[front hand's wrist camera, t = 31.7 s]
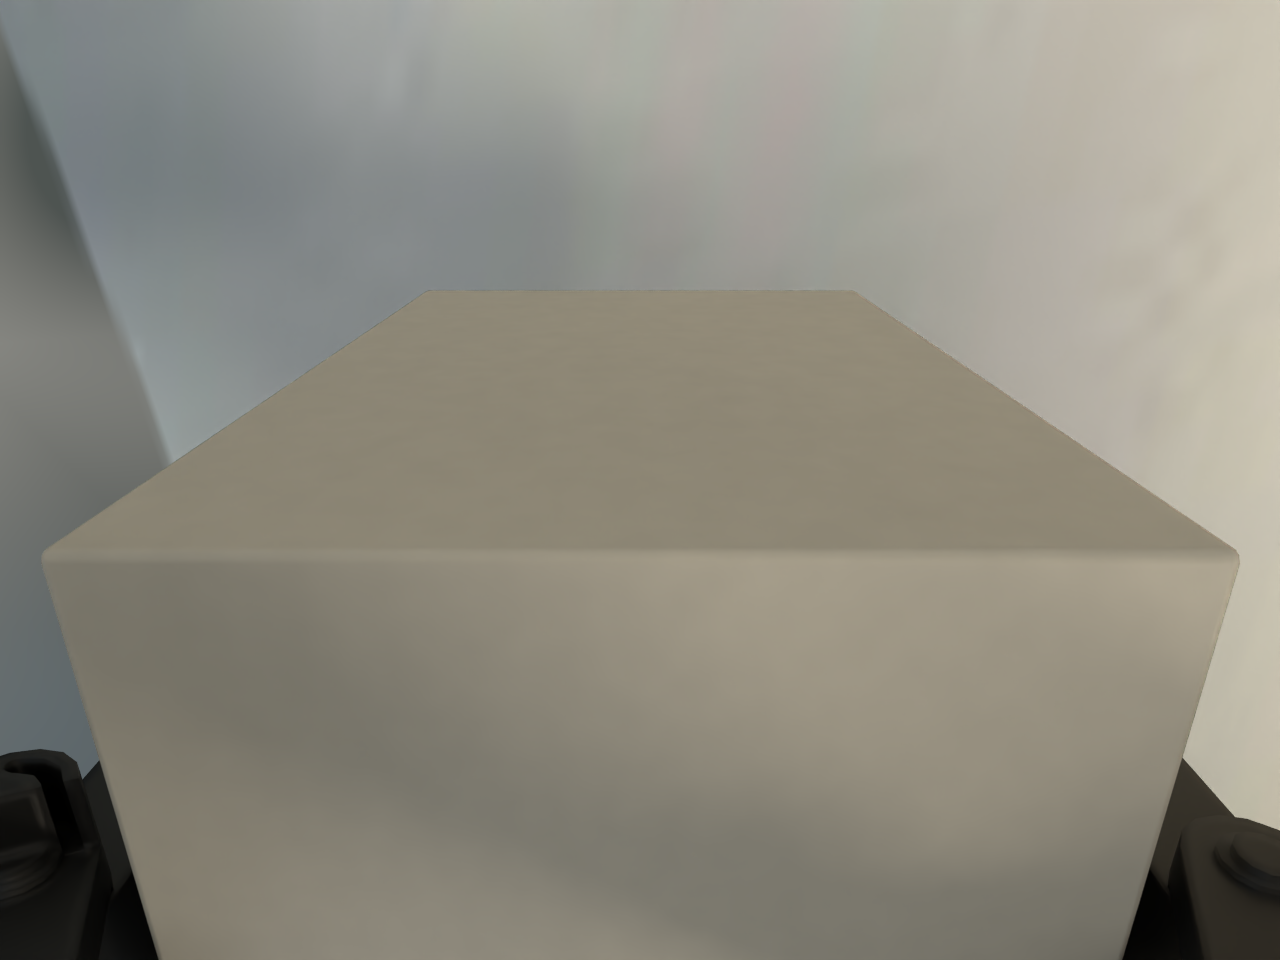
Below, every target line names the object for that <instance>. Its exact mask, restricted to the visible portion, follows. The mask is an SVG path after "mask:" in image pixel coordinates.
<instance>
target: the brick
mask: <svg viewBox="0 0 1280 960" xmlns="http://www.w3.org/2000/svg"><path fill="white" fill-rule="evenodd" d="M41 564H42V567H43V571H44V574H45V577H46V581H47V584H48V588H49V591H50V594H51V598H52V601H53V605H54V608H55V611H56V614H57V618H58V621H59V625H60V628H61V632H62V635H63V638H64V642H65V645H66V648H67V652H68V655H69V658H70V662H71V665H72V669H73V672H74V675H75V679H76V682H77V686H78V689H79V692H80V696H81V699H82V703H83V706H84V709H85V713H86V716H87V719H88V723H89V726H90V730H91V733H92V736H93V740H94V743H95V746H96V750H97V753H98V757H99V760H100V763H101V767H102V770H103V774H104V777H105V780H106V784H107V787H108V790H109V794H110V797H111V801H112V804H113V807H114V811H115V814H116V817H117V821H118V824H119V828H120V831H121V834H122V838H123V841H124V844H125V848H126V851H127V855H128V858H129V861H130V865H131V868H132V872H133V875H134V878H135V882H136V885H137V888H138V892H139V895H140V899H141V902H142V905H143V909H144V912H145V915H146V919H147V922H148V926H149V929H150V932H151V936H152V939H153V942H154V946H155V949H156V953H157V956H158V959H159V960H1122V959H1123V955H1124V952H1125V949H1126V945H1127V942H1128V939H1129V935H1130V932H1131V928H1132V925H1133V922H1134V918H1135V915H1136V912H1137V908H1138V905H1139V902H1140V898H1141V895H1142V891H1143V888H1144V885H1145V881H1146V878H1147V875H1148V871H1149V868H1150V864H1151V861H1152V858H1153V854H1154V851H1155V848H1156V844H1157V841H1158V838H1159V834H1160V831H1161V827H1162V824H1163V821H1164V817H1165V814H1166V811H1167V807H1168V804H1169V800H1170V797H1171V794H1172V790H1173V787H1174V784H1175V780H1176V777H1177V773H1178V770H1179V767H1180V763H1181V760H1182V757H1183V753H1184V750H1185V747H1186V743H1187V740H1188V736H1189V733H1190V730H1191V726H1192V723H1193V720H1194V716H1195V713H1196V709H1197V706H1198V703H1199V699H1200V696H1201V693H1202V689H1203V686H1204V682H1205V679H1206V676H1207V672H1208V669H1209V666H1210V662H1211V659H1212V656H1213V652H1214V649H1215V645H1216V642H1217V639H1218V635H1219V632H1220V629H1221V625H1222V622H1223V618H1224V615H1225V612H1226V608H1227V605H1228V602H1229V598H1230V595H1231V591H1232V588H1233V585H1234V581H1235V578H1236V575H1237V571H1238V568H1239V565H1240V560H1239V555H1238V553H1237V551H1236V550H1235V549H1234V548H1232V547H1231V546H1229V545H1228V544H1226V543H1225V542H1223V541H1222V540H1220V539H1219V538H1217V537H1216V536H1214V535H1213V534H1212V533H1210V532H1209V531H1207V530H1206V529H1204V528H1203V527H1201V526H1200V525H1198V524H1197V523H1195V522H1194V521H1192V520H1191V519H1189V518H1188V517H1186V516H1185V515H1184V514H1182V513H1181V512H1179V511H1178V510H1176V509H1175V508H1173V507H1172V506H1170V505H1169V504H1167V503H1166V502H1164V501H1163V500H1161V499H1160V498H1158V497H1157V496H1156V495H1154V494H1153V493H1151V492H1150V491H1148V490H1147V489H1145V488H1144V487H1142V486H1141V485H1139V484H1138V483H1136V482H1135V481H1133V480H1132V479H1130V478H1129V477H1128V476H1126V475H1125V474H1123V473H1122V472H1120V471H1119V470H1117V469H1116V468H1114V467H1113V466H1111V465H1110V464H1108V463H1107V462H1105V461H1104V460H1102V459H1101V458H1100V457H1098V456H1097V455H1095V454H1094V453H1092V452H1091V451H1089V450H1088V449H1086V448H1085V447H1083V446H1082V445H1080V444H1079V443H1077V442H1076V441H1074V440H1073V439H1072V438H1070V437H1069V436H1067V435H1066V434H1064V433H1063V432H1061V431H1060V430H1058V429H1057V428H1055V427H1054V426H1052V425H1051V424H1049V423H1048V422H1046V421H1045V420H1044V419H1042V418H1041V417H1039V416H1038V415H1036V414H1035V413H1033V412H1032V411H1030V410H1029V409H1027V408H1026V407H1024V406H1023V405H1021V404H1020V403H1018V402H1017V401H1016V400H1014V399H1013V398H1011V397H1010V396H1008V395H1007V394H1005V393H1004V392H1002V391H1001V390H999V389H998V388H996V387H995V386H993V385H992V384H990V383H989V382H988V381H986V380H985V379H983V378H982V377H980V376H979V375H977V374H976V373H974V372H973V371H971V370H970V369H968V368H967V367H965V366H964V365H962V364H961V363H960V362H958V361H957V360H955V359H954V358H952V357H951V356H949V355H948V354H946V353H945V352H943V351H942V350H940V349H939V348H937V347H936V346H934V345H933V344H931V343H930V342H929V341H927V340H926V339H924V338H923V337H921V336H920V335H918V334H917V333H915V332H914V331H912V330H911V329H909V328H908V327H906V326H905V325H903V324H902V323H901V322H899V321H898V320H896V319H895V318H893V317H892V316H890V315H889V314H887V313H886V312H884V311H883V310H881V309H880V308H878V307H877V306H875V305H874V304H873V303H871V302H870V301H868V300H867V299H865V298H864V297H862V296H861V295H859V294H858V293H856V292H854V291H427V292H425V293H423V294H422V295H420V296H419V297H417V298H416V299H414V300H413V301H411V302H410V303H408V304H407V305H406V306H404V307H403V308H401V309H400V310H398V311H397V312H395V313H394V314H392V315H391V316H389V317H388V318H386V319H385V320H383V321H382V322H380V323H379V324H377V325H376V326H374V327H373V328H372V329H370V330H369V331H367V332H366V333H364V334H363V335H361V336H360V337H358V338H357V339H355V340H354V341H352V342H351V343H349V344H348V345H346V346H345V347H343V348H342V349H341V350H339V351H338V352H336V353H335V354H333V355H332V356H330V357H329V358H327V359H326V360H324V361H323V362H321V363H320V364H318V365H317V366H315V367H314V368H312V369H311V370H309V371H308V372H307V373H305V374H304V375H302V376H301V377H299V378H298V379H296V380H295V381H293V382H292V383H290V384H289V385H287V386H286V387H284V388H283V389H281V390H280V391H278V392H277V393H275V394H274V395H273V396H271V397H270V398H268V399H267V400H265V401H264V402H262V403H261V404H259V405H258V406H256V407H255V408H253V409H252V410H250V411H249V412H247V413H246V414H244V415H243V416H242V417H240V418H239V419H237V420H236V421H234V422H233V423H231V424H230V425H228V426H227V427H225V428H224V429H222V430H221V431H219V432H218V433H216V434H215V435H213V436H212V437H210V438H209V439H208V440H206V441H205V442H203V443H202V444H200V445H199V446H197V447H196V448H194V449H193V450H191V451H190V452H188V453H187V454H185V455H184V456H182V457H181V458H179V459H178V460H177V461H175V462H174V463H172V464H171V465H169V466H168V467H166V468H165V469H163V470H162V471H160V472H159V473H157V474H156V475H154V476H153V477H151V478H150V479H148V480H147V481H145V482H144V483H143V484H141V485H140V486H138V487H137V488H135V489H134V490H132V491H131V492H129V493H128V494H126V495H125V496H123V497H122V498H120V499H119V500H117V501H116V502H115V503H113V504H111V505H110V506H109V507H107V508H106V509H104V510H103V511H101V512H100V513H98V514H97V515H95V516H94V517H92V518H91V519H89V520H88V521H86V522H85V523H83V524H82V525H81V526H79V527H78V528H76V529H75V530H73V531H72V532H70V533H69V534H67V535H66V536H64V537H63V538H61V539H60V540H58V541H57V542H55V543H54V544H52V545H51V546H50V547H48V548H47V549H45V551H44V552H43V554H42V560H41Z"/></svg>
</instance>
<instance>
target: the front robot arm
mask: <svg viewBox="0 0 1280 960" xmlns="http://www.w3.org/2000/svg"><path fill="white" fill-rule="evenodd" d="M0 960H159V959H158V956H157V953H156V949H155V946H154V942H153V939H152V936H151V932H150V929H149V926H148V922H147V919H146V915H145V912H144V909H143V905H142V902H141V899H140V895H139V892H138V888H137V885H136V882H135V878H134V875H133V872H132V868H131V865H130V861H129V858H128V855H127V851H126V848H125V844H124V841H123V838H122V834H121V831H120V828H119V824H118V821H117V817H116V814H115V811H114V807H113V804H112V801H111V797H110V794H109V790H108V787H107V784H106V780H105V777H104V774H103V770H102V767H101V763H100V760H99V761H98V763H97V764H96V765H95V766H94V767H93V768H92V769H91V771H90V772H89V773H88V774H87V775H86V776H85V777H84V779H83V780H82V777H81V774H80V771H79V767H78V764H77V762H76V761H75V760H73V759H72V758H71V757H69V756H68V755H66V754H65V753H64V752H58V751H50V750H43V749H37V750H29V751H21V752H14V753H8V754H5V755H2V756H0ZM1122 960H1280V831H1279V830H1277V829H1274V828H1271V827H1268V826H1266V825H1263V824H1260V823H1257V822H1254V821H1251V820H1249V819H1244V818H1237V817H1234V816H1233V814H1232V813H1231V812H1230V811H1229V810H1228V809H1227V808H1226V806H1225V805H1224V804H1223V803H1222V802H1221V801H1220V800H1219V799H1218V797H1217V796H1216V795H1215V794H1214V793H1213V792H1212V791H1211V790H1210V788H1209V787H1208V786H1207V785H1206V784H1205V783H1204V782H1203V780H1202V779H1201V778H1200V777H1199V776H1198V775H1197V774H1196V773H1195V771H1194V770H1193V769H1192V768H1191V767H1190V766H1189V765H1188V763H1187V762H1186V761H1185V760H1184V759H1183V758H1182V760H1181V763H1180V767H1179V770H1178V773H1177V777H1176V780H1175V784H1174V787H1173V790H1172V794H1171V797H1170V800H1169V804H1168V807H1167V811H1166V814H1165V817H1164V821H1163V824H1162V827H1161V831H1160V834H1159V838H1158V841H1157V844H1156V848H1155V851H1154V854H1153V858H1152V861H1151V864H1150V868H1149V871H1148V875H1147V878H1146V881H1145V885H1144V888H1143V891H1142V895H1141V898H1140V902H1139V905H1138V908H1137V912H1136V915H1135V918H1134V922H1133V925H1132V928H1131V932H1130V935H1129V939H1128V942H1127V945H1126V949H1125V952H1124V955H1123V959H1122Z"/></svg>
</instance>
